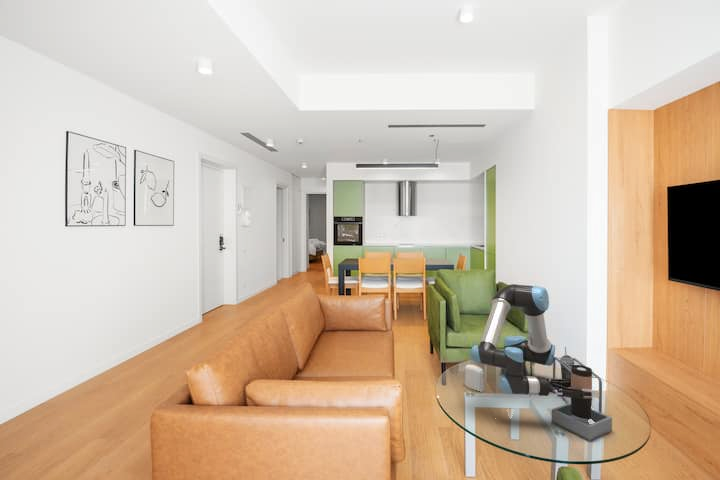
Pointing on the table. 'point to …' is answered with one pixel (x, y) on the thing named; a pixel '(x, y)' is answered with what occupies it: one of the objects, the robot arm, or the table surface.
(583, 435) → the crate
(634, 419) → the table surface
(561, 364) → the newton's cradle
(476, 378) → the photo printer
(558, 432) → the table surface
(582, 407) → the travel mug
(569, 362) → the beverage cup
